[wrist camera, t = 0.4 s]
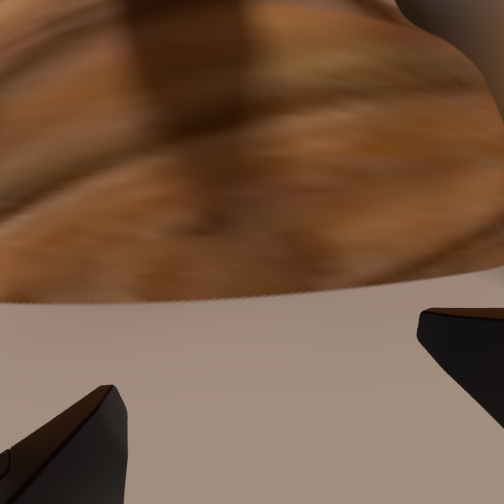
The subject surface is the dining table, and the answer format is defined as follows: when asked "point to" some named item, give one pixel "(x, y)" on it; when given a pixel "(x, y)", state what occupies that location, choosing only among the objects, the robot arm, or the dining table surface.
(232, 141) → the dining table surface
